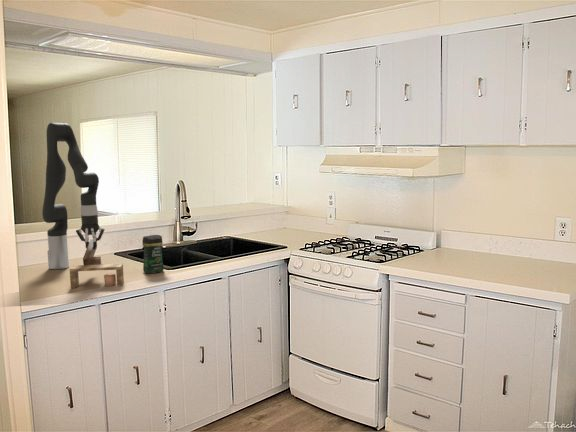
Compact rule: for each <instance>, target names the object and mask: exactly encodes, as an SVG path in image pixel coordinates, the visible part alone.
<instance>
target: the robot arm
mask: <svg viewBox="0 0 576 432" xmlns="http://www.w3.org/2000/svg"><path fill="white" fill-rule="evenodd" d="M58 142H65V143H66V144H67V146H68V152H67V161H68V164H69V166H70V168H71V169H72V172H73V176H74V182H75V185H76V186H77V187H79V188H80V189H85V188H86V189H87V188H88V189H87V191H85V192H83V193H81V194H80V215H81V219H80V220H81V226H80V228H78V229H76V230H75V233H76V234H77V237H79V239H80V241H82V242H84V243H85V249H87V247H88V245H89V242H90V236H92V239H93V241H94V242H93V247H94V249H96V248H98V241H100V240H101V239H102V237H103V234H104V232H105V228H102V227H100V225H99V216H98V214H99V213H98V206H97V195H98V194H97V193H98V189H99V184H100V178H99V176H98V174H97V173H96V172H87V171H88V168H89V167H88V163H87V162H86V160H85V158H84V156H83V154H82V152H81V151H80V148H79V145H78V141H77V137H76V136H75V133H74V130H73V128H72V126H71V125H70V124H69V123H66V122H49V123H48V125H47V127H46V168H45V188H44V189H45V190H44V198H43V205H42V211H41V213H42V219H43V220H44V222H45V223H46V224H52V223H53V224H54V225H53V226H52V227H51V228H49V229H47V245H48V247H47V248H48V249H47V263H48V269H49V270H61V269H67V268H69V267H70V265H69V264H70V261H69V248H68V247H69V246H68V234H67V232H68V227H69V226H68V210H67V206H65V204H63V203H56V198H57V196H58V194H59V192H60V190H61V189H62V188H63V186H64V184H65V182H66V176H67V167H66V164H65V162H64V160H63V159H62V157H61V156H60V154H59V151H58ZM98 231H99V235H97V233H98ZM83 233H84V235H83ZM96 250H97V249H96Z"/></svg>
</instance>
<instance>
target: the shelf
mask: <svg viewBox="0 0 576 432" xmlns="http://www.w3.org/2000/svg"><path fill="white" fill-rule="evenodd" d="M114 270H115V271H116V272H115V274H116V286H117V287H118V286H119V287H121V286H122V285H123V284H124V283H125V280H124V277H125V276H124V264H123V263H104V264H102V263H101V264H100V265H84V264H83V265H79V264H78V265H72V266H71V267H70V268H69V280H70V281H69V282H70V283H69V284H70V288H71V289H76V288H77V287H78V286H79V284H80V279H79V272H91V271H92V272H93V271H95V272H96V271H114Z"/></svg>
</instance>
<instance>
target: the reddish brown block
mask: <svg viewBox="0 0 576 432" xmlns="http://www.w3.org/2000/svg"><path fill="white" fill-rule="evenodd" d="M103 279H104V282H103V283H104V286H107V287H109V286H110V287H112V286H117V276H116V273H105V274H104V275H103Z"/></svg>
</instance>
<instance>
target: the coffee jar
mask: <svg viewBox="0 0 576 432" xmlns="http://www.w3.org/2000/svg"><path fill="white" fill-rule="evenodd" d="M141 244H142V246H143V265H142V267H143V269H142V271H143V273H146V274H157V273H161V272H163V271H164V261H163V252H162V247H163V237H162V235H160V234H150V235H145V236H142V243H141Z"/></svg>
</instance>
